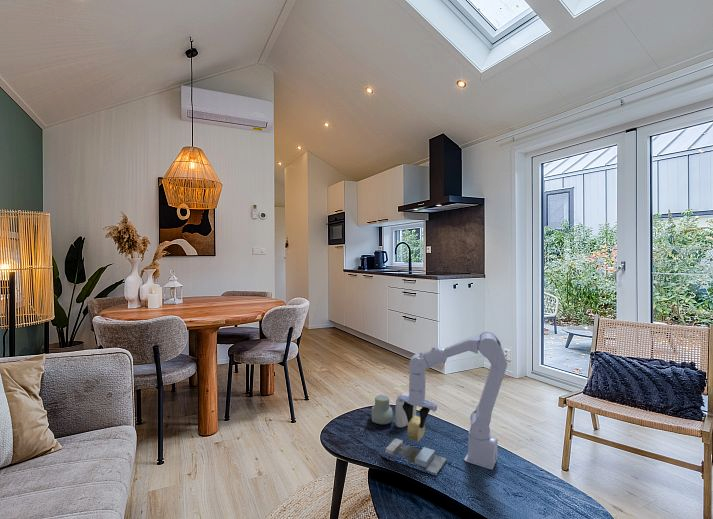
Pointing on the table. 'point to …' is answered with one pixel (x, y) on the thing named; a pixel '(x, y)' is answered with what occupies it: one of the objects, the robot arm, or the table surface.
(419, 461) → the block
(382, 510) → the table surface
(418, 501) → the table surface
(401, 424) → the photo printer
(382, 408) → the air freshener
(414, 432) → the brass block
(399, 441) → the vise
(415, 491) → the table surface
